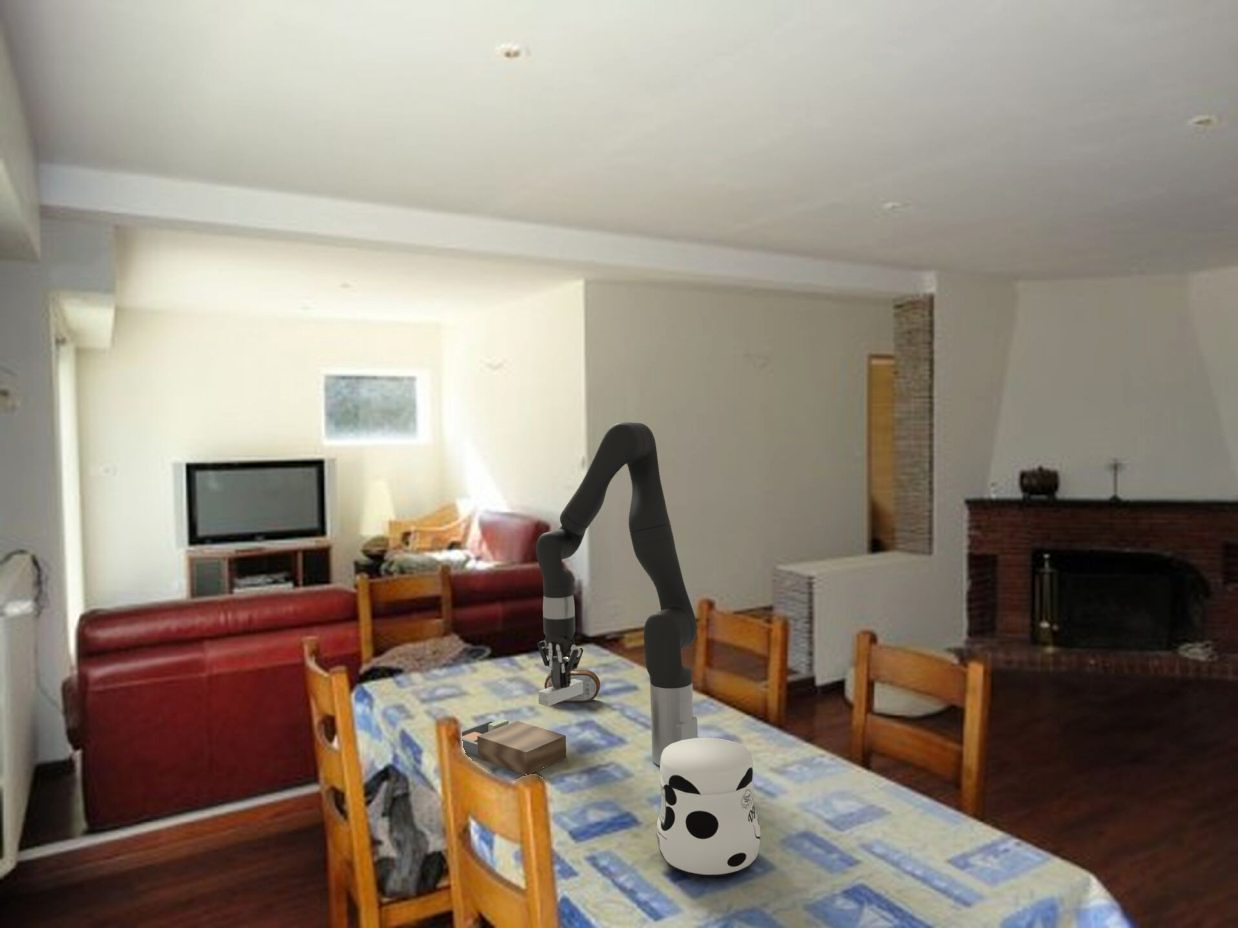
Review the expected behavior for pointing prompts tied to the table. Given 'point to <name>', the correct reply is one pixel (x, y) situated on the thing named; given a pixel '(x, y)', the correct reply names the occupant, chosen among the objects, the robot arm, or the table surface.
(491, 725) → the sage tile
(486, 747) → the walnut block
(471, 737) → the peach flat block
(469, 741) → the tray
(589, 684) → the tin
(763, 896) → the table surface
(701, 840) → the milk container
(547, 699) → the scraper
